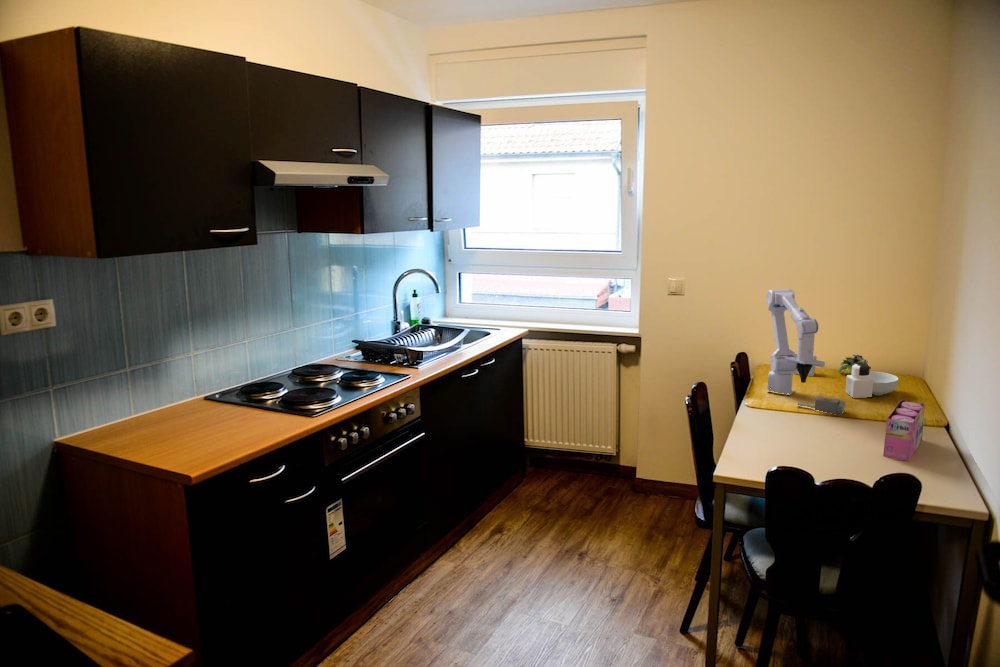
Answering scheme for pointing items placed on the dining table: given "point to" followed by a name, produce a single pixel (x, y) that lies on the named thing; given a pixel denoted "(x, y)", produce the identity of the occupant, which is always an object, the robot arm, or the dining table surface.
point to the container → (859, 382)
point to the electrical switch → (812, 371)
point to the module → (826, 404)
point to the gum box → (904, 430)
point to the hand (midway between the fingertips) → (803, 382)
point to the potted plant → (852, 363)
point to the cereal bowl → (883, 382)
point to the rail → (839, 407)
